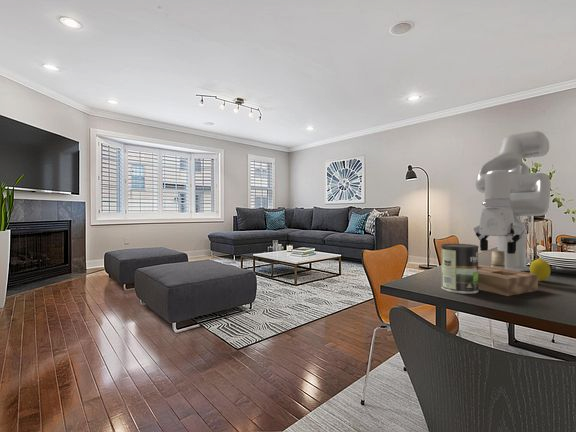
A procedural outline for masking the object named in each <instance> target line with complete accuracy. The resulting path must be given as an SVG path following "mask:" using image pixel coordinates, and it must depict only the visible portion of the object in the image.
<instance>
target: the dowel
mask: <svg viewBox="0 0 576 432" xmlns="http://www.w3.org/2000/svg"><path fill="white" fill-rule="evenodd" d="M490 259H491V260H490V267H496V268H502V269H505V251H501V250H498V249H496V250H495V249H491V250H490Z"/></svg>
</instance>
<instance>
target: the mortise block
mask: <svg viewBox="0 0 576 432" xmlns="http://www.w3.org/2000/svg"><path fill="white" fill-rule="evenodd" d="M538 282H539V281H538V274H532V273H530V272H527V271H514V270H508V269H502V268H496V267H491V265H490V266H489V265H483V264H478V290H480V291H485V292H490V293H493V294H498V295H502V296H506V297H509V296H510V297H511V296H515V295H521V294H526V293H533V292H537V291H538V289H539V288H538V287H539V286H538V285H539V284H538Z"/></svg>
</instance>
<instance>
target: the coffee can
mask: <svg viewBox="0 0 576 432" xmlns="http://www.w3.org/2000/svg"><path fill="white" fill-rule="evenodd" d="M440 247H441V248H440V249H441V252H440V253H441V254H440V255H441V289H442V291H445V292H450V293H452V294H453V293H454V294H463V295H465V294H466V295H470V294H471V295H472V294H473V295H474V294H478V293H479V290H480V289H478V265H479V247H480V245H476V244H467V243H441V244H440Z"/></svg>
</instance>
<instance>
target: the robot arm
mask: <svg viewBox="0 0 576 432" xmlns="http://www.w3.org/2000/svg"><path fill="white" fill-rule="evenodd" d="M549 151H550V140H549V139H548V137H547V135H546V134H544V133H543V132H542V131H538V130H532V131H527V132H522V133H521V132H520V133H515V134H509V135H507V136H505V137H504V138H503V139H502V141H501V143H500V146H499V149H498V152H497V155H496V156H495V157H493V158H492V159H490V160H488V161H487V162H485V163H484V164H483V165H481V167H480V168H479V171H478V173H477V176H476V180H475V187H476V190H477V191H478V192H480V193H481V194H482V193H483V194H484V201H483V202H482V206H484V208H482V211H481V214H480V220H479V225H477V226H475V227H473V231H474V233H475V236H476V237H477V238H478V240H479V247H480V251H481V252H486V251H487V252H488V249H489V240H488V238H489V237H490V236H491V237H497V250H501V251H505V269H508V270H514V271H520V272H530V265H527V264H531V263H532V259H531V258H529V257H528V258H527V245H526V244H527V240H526V239H527V238H526V237H527V228H526V225H525V223H524V222H523V221H522V220H521V219H520V218H519V217H541V216H544V215H546V214H547V213H548V211H549V208H550V198H551V197H550V196H551V188H552V187H551V179H550V177H549V175H548V174H547V173H544V172H533V173H532V172H531V173H530V168H529V166H528V165H527V164H526V163H524V162H523V161H522V160H523V159H529V158H540V157H544V156H546V155H547V154H548V152H549ZM531 154H532V155H531Z"/></svg>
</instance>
